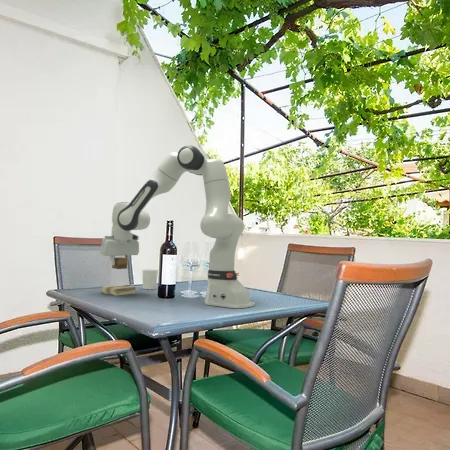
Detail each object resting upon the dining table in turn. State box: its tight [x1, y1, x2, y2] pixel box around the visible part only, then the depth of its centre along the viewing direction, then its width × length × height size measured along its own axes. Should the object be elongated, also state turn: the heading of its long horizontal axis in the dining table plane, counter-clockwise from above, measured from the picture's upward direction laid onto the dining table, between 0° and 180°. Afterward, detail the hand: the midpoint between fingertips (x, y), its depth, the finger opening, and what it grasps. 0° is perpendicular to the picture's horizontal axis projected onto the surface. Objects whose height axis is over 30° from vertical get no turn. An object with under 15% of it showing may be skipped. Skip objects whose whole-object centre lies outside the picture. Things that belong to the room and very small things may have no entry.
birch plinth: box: [101, 284, 136, 296], centre depth 202 cm, size 11×11×3 cm
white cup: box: [142, 268, 159, 290], centre depth 220 cm, size 8×8×10 cm
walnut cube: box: [111, 256, 128, 270], centre depth 202 cm, size 5×5×5 cm
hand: (119, 265), depth 202 cm, fingers closed on walnut cube, 5 cm apart
